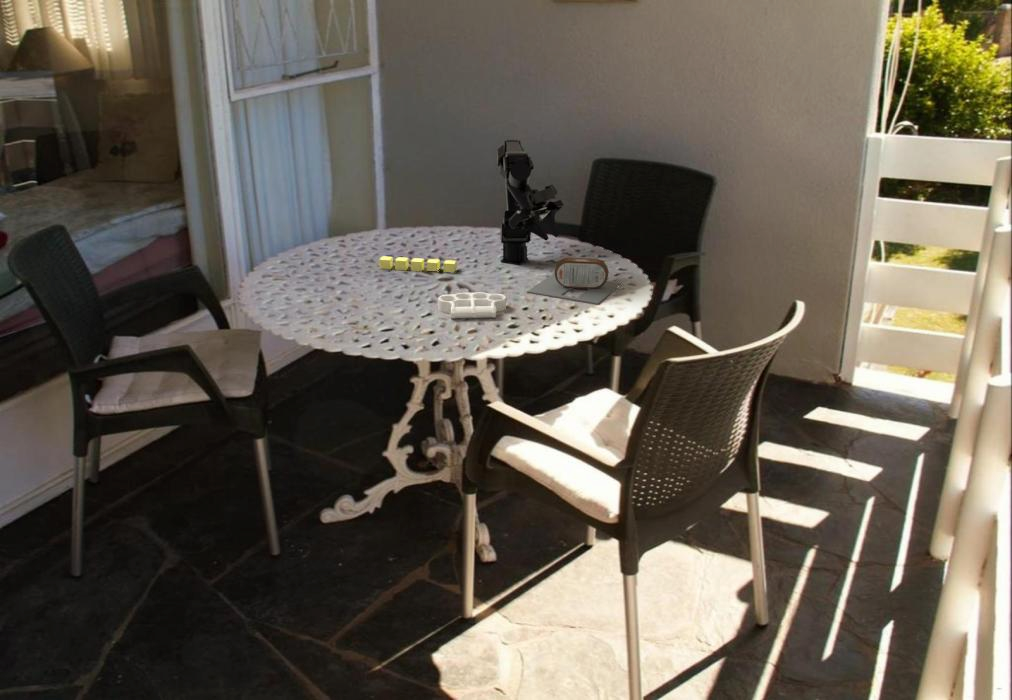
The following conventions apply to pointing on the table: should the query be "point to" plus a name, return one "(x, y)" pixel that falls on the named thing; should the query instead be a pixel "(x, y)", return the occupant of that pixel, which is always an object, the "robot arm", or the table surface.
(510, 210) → the robot arm
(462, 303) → the white brass knuckles
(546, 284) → the mat
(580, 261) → the tin
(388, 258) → the yellow cube row
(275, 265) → the table surface
